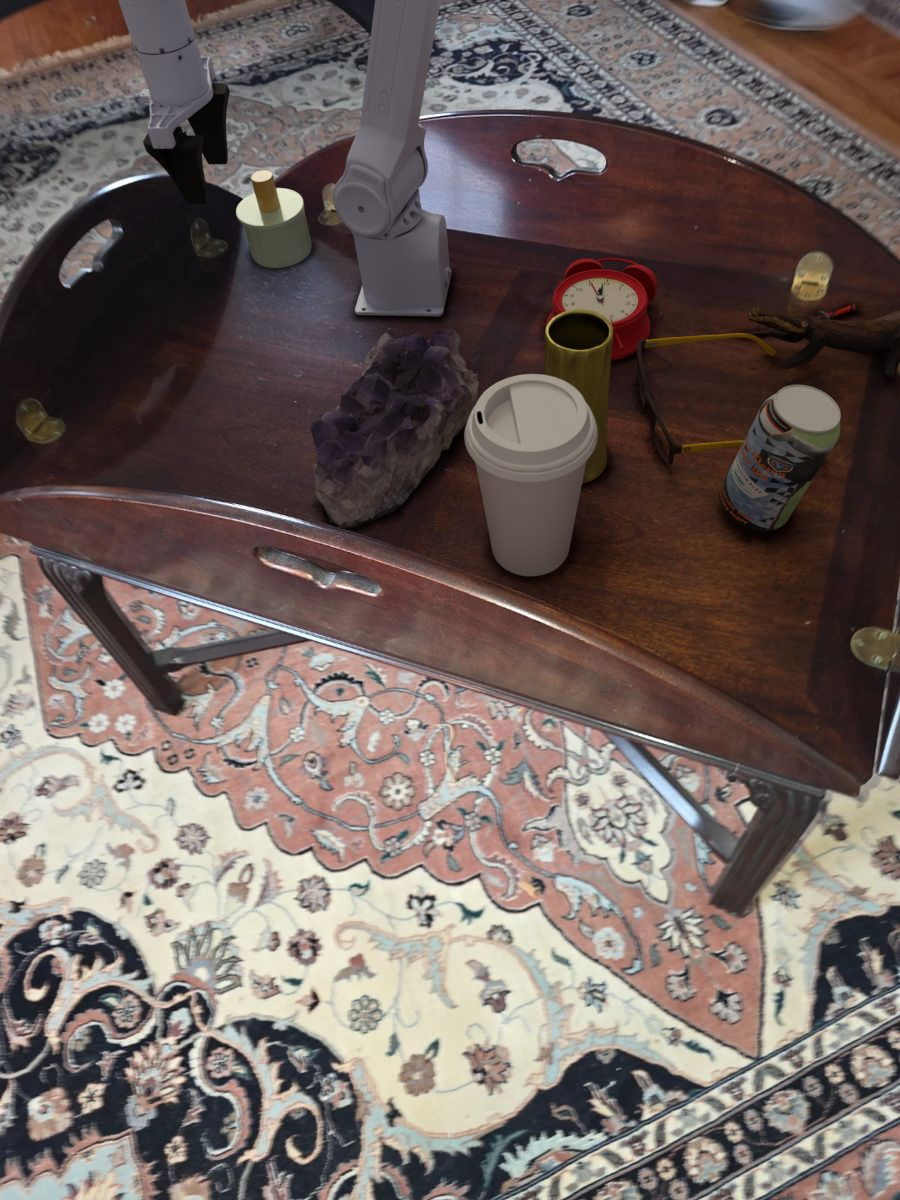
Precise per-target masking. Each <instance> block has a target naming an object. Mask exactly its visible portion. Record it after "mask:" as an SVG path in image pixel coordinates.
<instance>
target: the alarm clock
mask: <svg viewBox="0 0 900 1200" xmlns="http://www.w3.org/2000/svg"><path fill="white" fill-rule="evenodd" d="M605 261H606V262H607V261H608V262H609V261H610V262H611V261H613V262H620V263H621V262H622V263H627V264H630V265H628V266H626V267H625V268H624V269H622V271H619V270H613V269H606V268H605V269H604V267H603V265H602V264H601V262H605ZM563 279H564V280H562V281H561V282H560V283H559V284H558V286H557V287H556V288H555V291H554V293H553V296H552V301H551V303H552V309H551V311H550V313H549V315H548V316H547V319H546V324H545V327H546V326H547V324H548V323H549V321H550V320H551V319H552V318H553V317H555V316H556V315H558V314H560V313H562V312H565V311H568V310H576V309H583V310H590V311H594V312H596V313H599V314H601V315H603V316H604V317H606V318H607V319H608V320H609V321H610V323H611V324H612V326H613V344H612V355H611V362H613V361H617V360H620V359H623V358H626V357H629V356H631V355H633V354H634V353H637V348H638V342H639V340H649V337H650V333H651V329H652V328H651V325H652V324H651V320H650V317H649V315H648V313H647V310H648V305H649V304H651V303H652V302H653V300H654V299H655V297H656V296H657V293H658V286H659V285H658V280H657V277H656V275H655V273H654V271H652V269H650V268H648V267H647V266H645V265H642V264H638V263H636V262H634V261H632V260H628V259H625V258H616V257H604V258H599V259H597V260H596V259H592V258H580V259H577V260H575V261H573V262H572V263H571V264H570V265H569V266H567V268H566V270H565V274H564V278H563Z"/></svg>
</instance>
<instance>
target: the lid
mask: <svg viewBox="0 0 900 1200" xmlns="http://www.w3.org/2000/svg"><path fill="white" fill-rule="evenodd" d="M250 181H251V184H252V188H253V192H252V193H251V194H249V195H247V196H246V197H244V198H243V199H242V200H241V201H240V202H239V203H237V206H236V209H235V216H236V218H237V220H238V222H239V224H241V225H242V226H243V225H244V226H245V227H248V228H251V229H256V230H269V229H275V228H279V227H282V226H285V225H288V224H290V223H291V222H293V221H295V220H296V219H297V218H298V217H299V216H300V215H301V214H302V212H303V210H304V211H305V201H304V199H303V196H301V194H300V193H298V192H297V191H295V190H293V189H289V188H283V187H277V186H276V182H275V178H274V173H273V172H272V171H271V170H267V169H262V170H261V169H260V170H257V171H255V172H253V173H252V175H251V176H250ZM244 226H243V227H244Z"/></svg>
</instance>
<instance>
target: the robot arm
mask: <svg viewBox="0 0 900 1200" xmlns="http://www.w3.org/2000/svg"><path fill="white" fill-rule="evenodd" d="M117 1H118V3H119V6H120V10H121V12H122V16H123V19H124V21H125V24H126V27H127V30H128V34H129V36H130V39H131V42H132V45H133V48H134V51H135V54H136V56H137V60H138V63H139V66H140V69H141V72H142V75H143V77H144V81H145V84H146V86H145V87H144V88H143V89H142V90H141V92H140V93H139V99H140V102H141V103H142V104H149V108H148V109H149V123H148V126H147V127H146V131H147V134H146V135H145V137H144V138H143V141H142V144H143V146H144V150H145V152H146V153H147V154H148V155H149V156H150V157H152V158H153V159H154V160H155V161H156V162H157V163H158V164H159V165H160V166H161V167H162V168H163V169H164V170H165V172H166V173H167V174H168V176H169V177H170V178H171V180H172V181H173V183H174V184H175V186H176V188H177V189H178V191H179V192H180V194H181V196H182V197H183V198H184V200H185V202H186V203H187V204H188V205H206V204H207V203H208V201H209V193H208V186H207V181H206V177H205V171H204V165H203V164H204V163H203V157H204V159H205V161H206V163H207V164H208V165H227V164H228V162H229V149H228V134H227V133H228V132H227V113H228V104H229V97H230V88H229V85H228V84H227V83H224V82H213V81H215V78H216V77H217V74H216V71H215V67H214V64H213V60H212V57H211V56H209V55H208V56H207V55H206V56H202V55H201V52H200V48H199V45H198V41H197V37H196V35H195V31H194V28H193V24H192V19H191V17H190V13H189V9H188V6H187V3H186V0H117ZM441 2H442V0H374V8H373V15H372V23H371V32H370V40H369V48H368V57H367V64H366V65H367V66H366V73H365V82H364V88H363V89H364V90H363V97H362V106H361V115H360V123H359V127H358V129H357V131H356V134H355V136H354V139H353V141H352V144H351V146H350V149H349V151H348V154H347V156H346V160H345V168H344V172H343V174H342V176H341V177H340V178H339V180H337V182H336V183H335V185H334V187H333V191H332V203H333V207H334V211H335V213H336V214H337V216H338V219H339V220H340V221H341V222H342V223H343V224H344V226H345V227H347V229H348V230H350V233H351V235H353V236H352V237H353V241H354V247H355V253H356V257H357V264H358V268H359V275H360V280H361V288H360V291H359V294H358V297H357V301H356V303H355V307H354V314H355V315H357V316H383V317H384V316H389V317H392V316H394V317H441V316H443V315H444V311H445V306H446V301H447V296H448V291H449V287H450V283H451V277H452V269H451V265H450V253H449V252H450V251H449V241H448V240H449V239H448V229H447V228H448V227H447V222H446V217H445V215H443V214H439V213H434V212H430V211H427V210H425V209H423V208H422V204H421V195H420V189H419V188H421V187H422V186H423V184H424V183H425V181H426V179H427V176H428V172H429V163H428V157H427V154H426V150H425V139H426V138H425V137H426V132H427V130H426V128H425V127H424V126H423V125H422V124H421V123H420V119H421V118H420V117H421V112H422V111H421V110H422V106H423V100H424V95H425V89H426V85H427V80H428V79H427V78H428V73H429V68H430V62H431V58H432V51H433V45H434V40H435V35H436V30H437V29H436V28H437V24H438V17H439V14H440V8H441ZM185 121H187V122H188V124H189V125H190V127H191V129H192V131H193V134H192V135H190V134H189V135H188V133H187V131H183V128H182V126H181V125H182V124H183V123H184V122H185Z"/></svg>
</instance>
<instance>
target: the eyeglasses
mask: <svg viewBox="0 0 900 1200" xmlns="http://www.w3.org/2000/svg"><path fill="white" fill-rule="evenodd" d="M744 333H745V332H742V333H741V332H736V333H720V334H703V335H690V336H676V337H675V336H674V337H661V338H651V339H647V340H639V342H638V348H637V351H636V359H637V375H638V377H637V378H638V392H639V397H640V398H639V399H640V403H641V405H642V409H643V410H644V409H647V412H648V422H649V429H650V433H651V437H652V440H653V443H654V445H655V448H656V450H657V453H658V455H659V456H660V457H661V459H662V460H663V461H664V463H665V464H666V465H668V466H670V465H673V463H674V459H675V455H678V454H679V455H680V454H688V453H695V452H705V451H709V450H717V449H726V448H736V447H741V446H742V444H743V442H744V440H745V439H743V440H728V441H727V440H726V441H712V442H702V443H700V442H699V443H691V444H681V445H680V444H678V443H676V441H675V440H674V438H673V437H672V435H671V433H669V431H668V429H667V427H666V425H665V423H664V422H663V419H662V417H661V414H660V412H659V410H658V408H657V405H656V403H655V401H654V398H653V397H651V395H650V388H649V382H648V378H647V374H646V371H645V366H644V363H643V357H642V350H643V349H649V348H654V347H655V348H656V347H664V346H665V347H666V346H669V345H677V344H678V345H679V344H687V343H697V342H707V341H717V340H727V339H735V338H739V339H740V338H742V339H748V340H751V341H754V342H755V343H757V344H758V345H759V347H761V349H762V350H763V351H764V352H765V353H766V354H767V355H768V356H771V357H773V356H776V353H777V352H776V350H775V348H774V347H772V346H770V345H769V344H768V343H766V342H765V341H764V340H762V339H761V338H759V337H758V336H757V335H754V336H753V335H750V334H744ZM657 423H658V425H659V427H660V429H661V431H662V433H663V435H664V437H665V439H666V441H667V443H668V444H667V445H668V457H667V456H666V455H665V453H664V452H663V449H662V448H661V445H660V442H659V440H658V437H657V433H656V425H657Z"/></svg>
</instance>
